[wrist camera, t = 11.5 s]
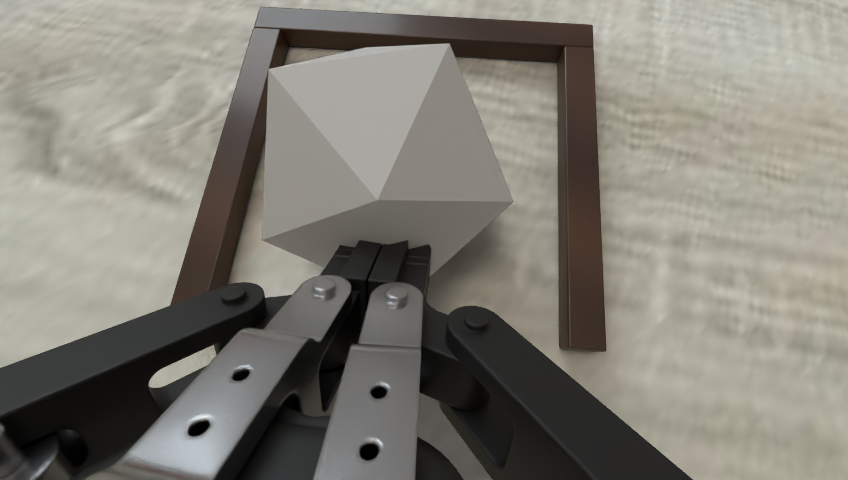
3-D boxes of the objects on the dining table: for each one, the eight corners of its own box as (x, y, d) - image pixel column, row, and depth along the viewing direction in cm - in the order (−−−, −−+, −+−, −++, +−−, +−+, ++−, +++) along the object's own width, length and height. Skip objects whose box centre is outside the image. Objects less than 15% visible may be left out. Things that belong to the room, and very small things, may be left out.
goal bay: (594, 351, 16) (607, 351, 14) (187, 310, 17) (169, 306, 15) (584, 42, 20) (593, 23, 19) (268, 24, 21) (259, 5, 20)
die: (475, 128, 20) (336, -57, 13) (592, 222, 13) (439, -44, 7) (366, 235, 21) (190, 120, 15) (424, 364, 15) (159, 268, 8)
